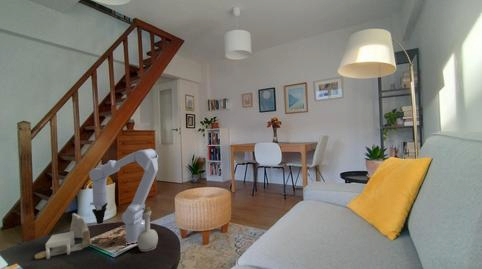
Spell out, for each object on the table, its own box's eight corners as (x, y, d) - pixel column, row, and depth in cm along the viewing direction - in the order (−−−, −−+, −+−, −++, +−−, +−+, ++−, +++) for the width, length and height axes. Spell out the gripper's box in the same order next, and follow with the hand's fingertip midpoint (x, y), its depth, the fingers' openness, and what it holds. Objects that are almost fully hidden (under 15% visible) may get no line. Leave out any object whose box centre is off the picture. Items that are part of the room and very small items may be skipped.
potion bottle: (151, 253, 95) (150, 210, 95) (132, 251, 97) (131, 210, 97) (162, 243, 104) (161, 204, 104) (145, 242, 106) (144, 203, 106)
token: (51, 252, 100) (51, 249, 100) (49, 257, 96) (49, 254, 96) (36, 255, 97) (36, 252, 97) (33, 261, 93) (33, 258, 93)
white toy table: (74, 244, 106) (73, 231, 106) (70, 254, 97) (69, 239, 97) (52, 249, 102) (52, 235, 102) (46, 259, 93) (45, 244, 93)
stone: (89, 235, 116) (89, 212, 116) (79, 239, 111) (78, 216, 111) (77, 232, 120) (77, 210, 120) (67, 236, 116) (66, 213, 116)
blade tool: (90, 243, 107) (89, 229, 107) (89, 247, 102) (88, 233, 102) (51, 251, 100) (51, 236, 100) (48, 256, 96) (48, 241, 96)
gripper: (91, 190, 114) (92, 217, 114) (87, 197, 101) (89, 227, 101) (107, 188, 117) (108, 215, 117) (106, 194, 104) (107, 224, 104)
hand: (100, 220), depth 109 cm, fingers open, 7 cm apart
